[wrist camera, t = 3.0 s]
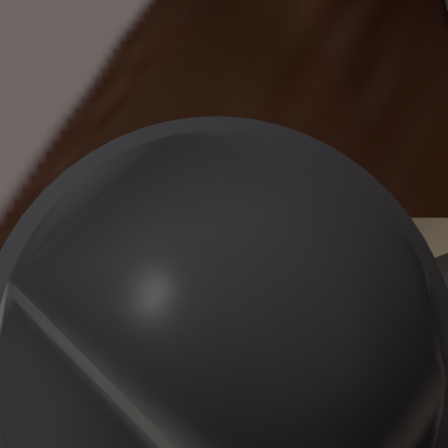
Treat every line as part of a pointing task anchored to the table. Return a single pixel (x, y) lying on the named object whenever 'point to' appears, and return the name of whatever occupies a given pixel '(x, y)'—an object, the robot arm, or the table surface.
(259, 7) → the table surface
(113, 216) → the tube
